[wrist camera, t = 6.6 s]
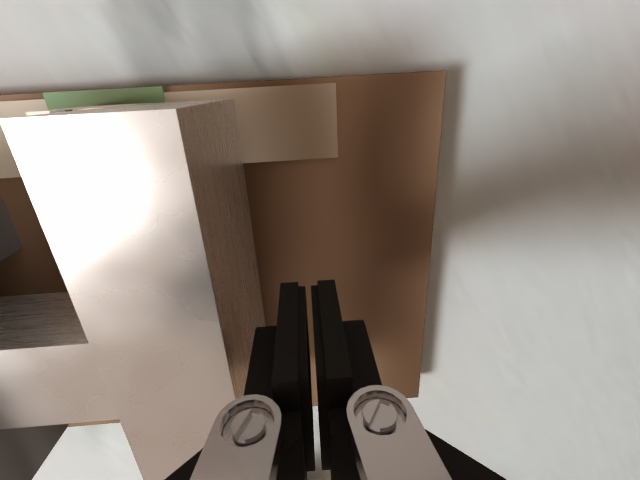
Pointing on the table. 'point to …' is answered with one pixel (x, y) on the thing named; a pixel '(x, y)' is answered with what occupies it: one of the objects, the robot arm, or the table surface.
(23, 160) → the l-shaped grey beam
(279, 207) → the gauge base
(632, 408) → the table surface
